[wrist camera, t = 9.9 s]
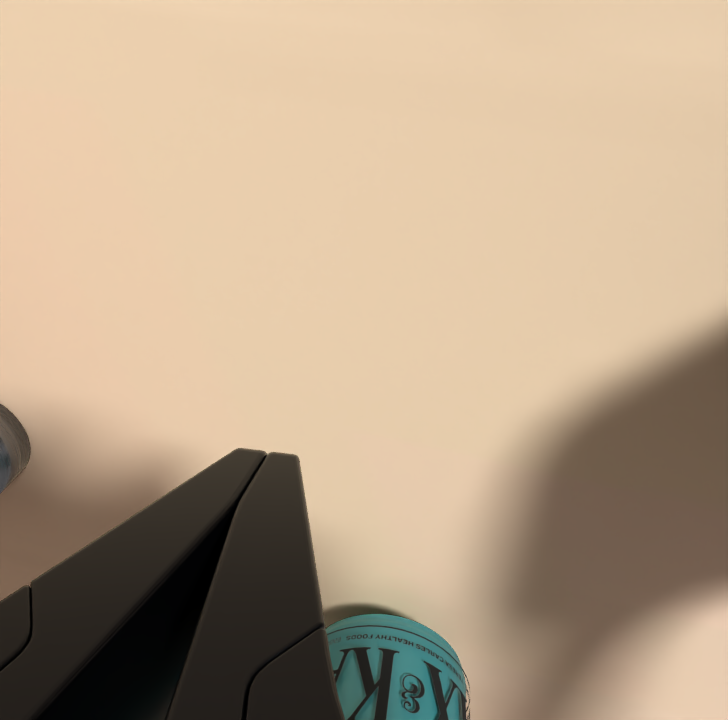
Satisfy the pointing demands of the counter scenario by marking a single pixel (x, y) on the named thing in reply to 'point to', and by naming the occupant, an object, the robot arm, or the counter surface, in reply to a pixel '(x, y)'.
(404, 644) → the beverage bottle
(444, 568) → the counter surface
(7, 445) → the pivot foot
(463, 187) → the counter surface
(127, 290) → the counter surface
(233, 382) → the counter surface
